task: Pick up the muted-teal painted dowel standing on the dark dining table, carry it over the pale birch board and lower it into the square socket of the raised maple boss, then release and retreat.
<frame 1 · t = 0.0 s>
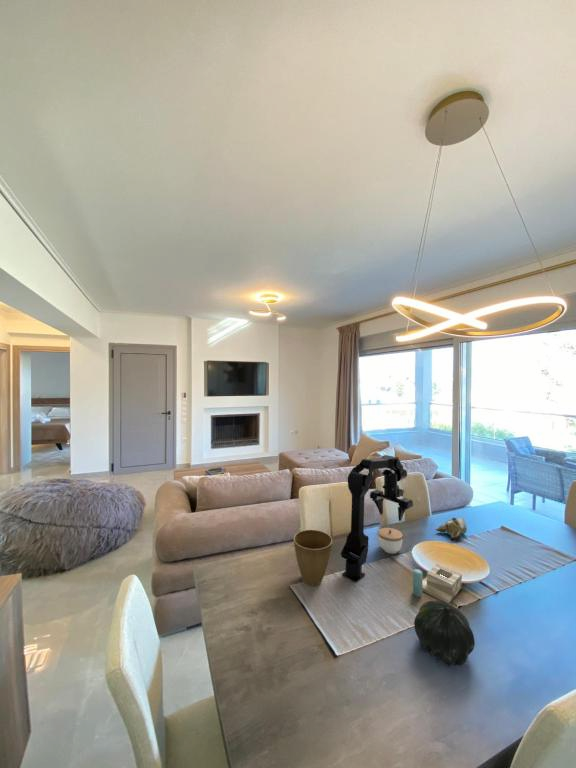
hand: (390, 517, 142), 15 cm above the table, fingers open, 9 cm apart
socket board: (444, 587, 116), on the table
plant pot: (312, 580, 120), on the table
peg: (417, 593, 112), on the table
ceramic sculpture: (453, 535, 156), on the table
lidded jar: (390, 550, 142), on the table
squash: (443, 651, 88), on the table
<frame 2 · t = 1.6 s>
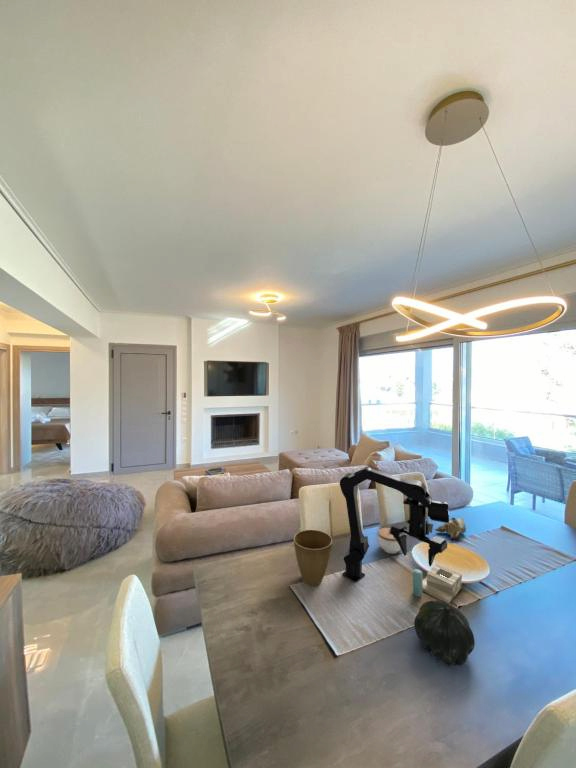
hand: (417, 560, 112), 12 cm above the table, fingers open, 9 cm apart
nothing on the table moved.
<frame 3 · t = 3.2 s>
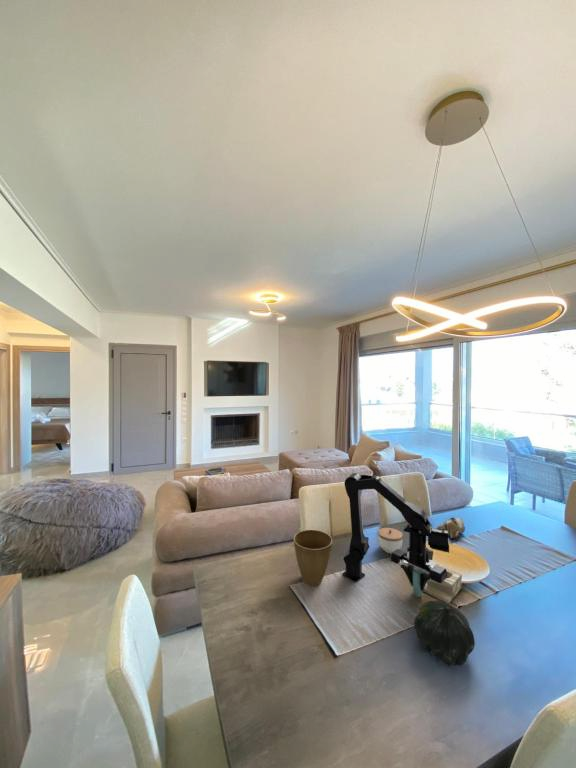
hand: (417, 588, 112), 2 cm above the table, fingers closed on peg, 3 cm apart
peg: (417, 593, 112), on the table, touching gripper
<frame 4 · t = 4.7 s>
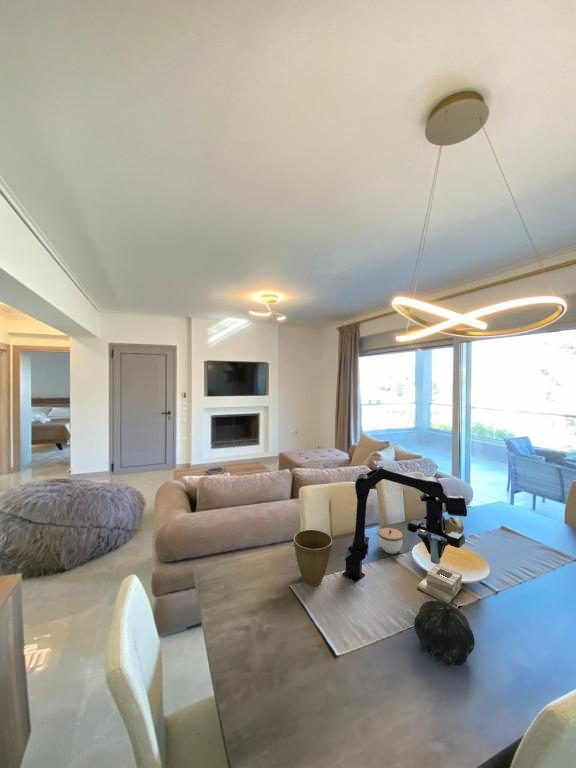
hand: (435, 555, 114), 13 cm above the table, fingers closed on peg, 3 cm apart
peg: (435, 561, 114), point 11 cm above the table, touching gripper
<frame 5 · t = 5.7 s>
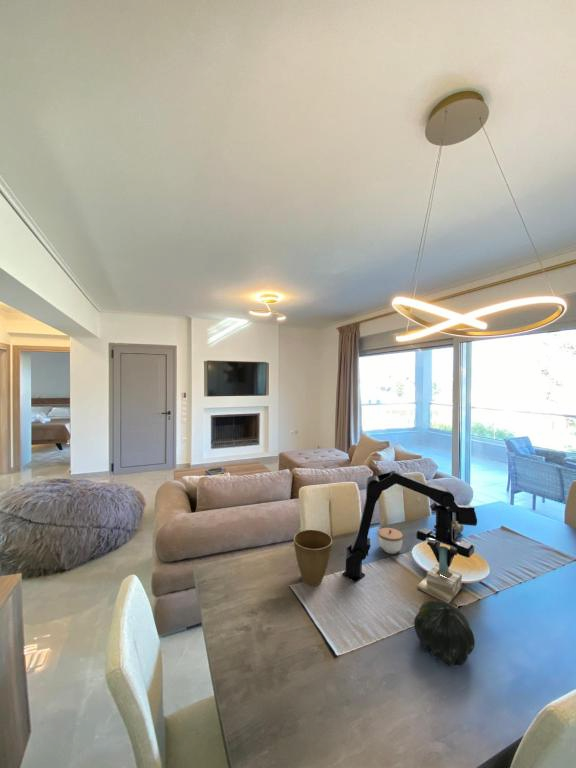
hand: (443, 564, 116), 8 cm above the table, fingers closed on peg, 3 cm apart
peg: (443, 569, 116), point 6 cm above the table, touching gripper
when the fingers open (5 cm above the table, at t = 6.5 s): peg drops 2 cm, resting on socket board.
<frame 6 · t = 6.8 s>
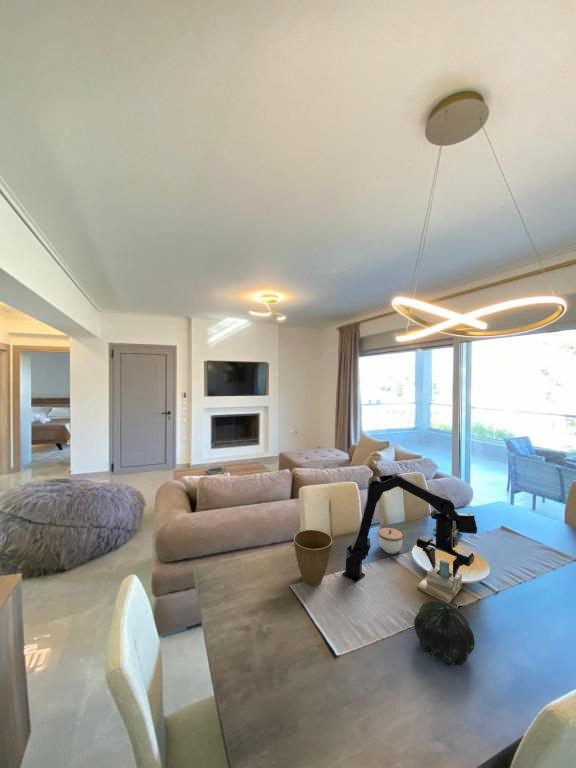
hand: (444, 572, 116), 5 cm above the table, fingers open, 7 cm apart
peg: (444, 584, 116), point 1 cm above the table, touching socket board
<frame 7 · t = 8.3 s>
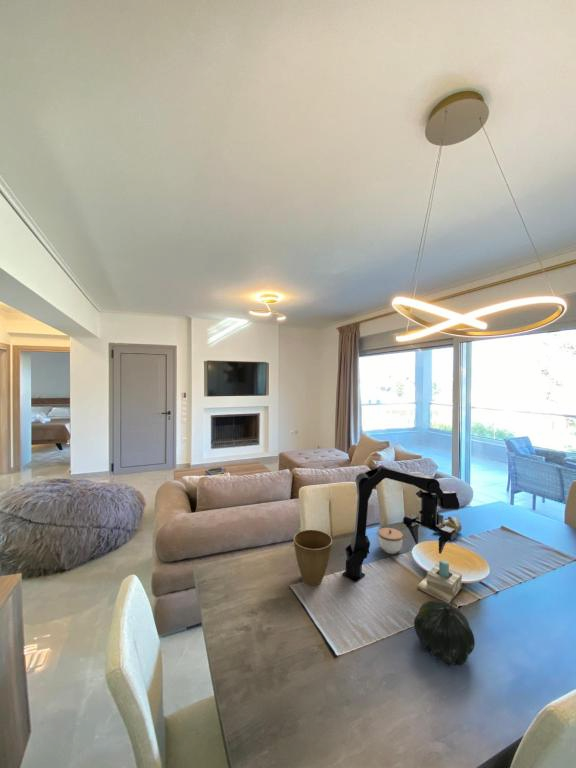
hand: (428, 548, 121), 12 cm above the table, fingers open, 9 cm apart
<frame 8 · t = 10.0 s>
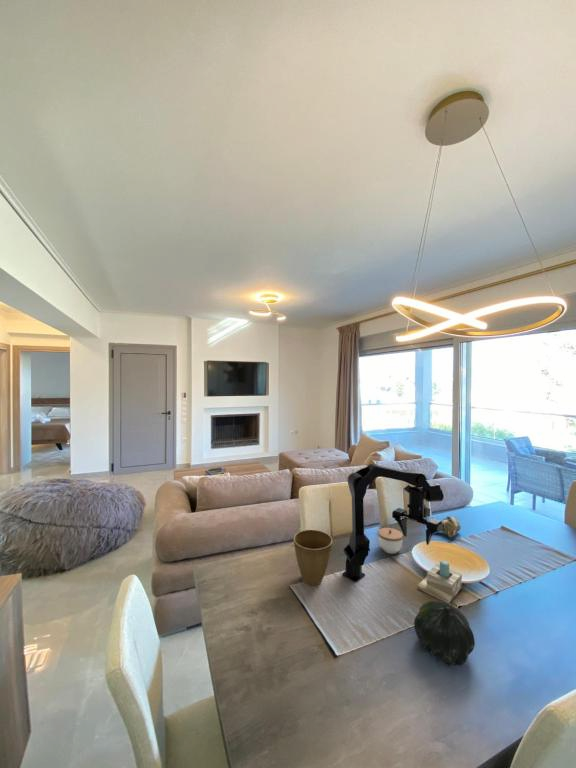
hand: (416, 540, 127), 12 cm above the table, fingers open, 9 cm apart
at the end: peg 0.0 cm off-centre on the socket board, point 1.0 cm above the socket board's base; peg tilted 2°; the gripper is holding nothing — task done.
